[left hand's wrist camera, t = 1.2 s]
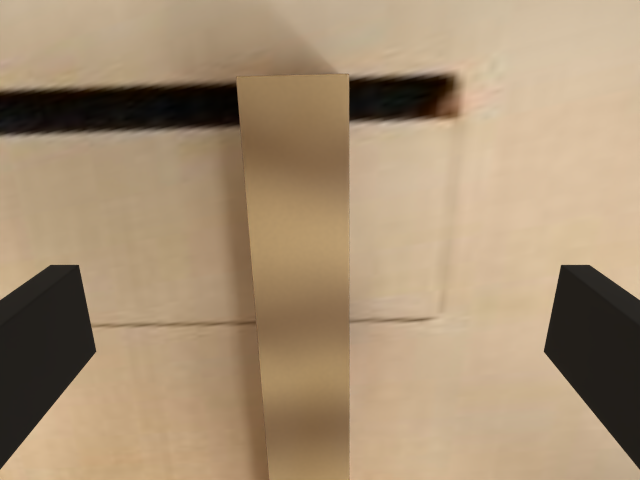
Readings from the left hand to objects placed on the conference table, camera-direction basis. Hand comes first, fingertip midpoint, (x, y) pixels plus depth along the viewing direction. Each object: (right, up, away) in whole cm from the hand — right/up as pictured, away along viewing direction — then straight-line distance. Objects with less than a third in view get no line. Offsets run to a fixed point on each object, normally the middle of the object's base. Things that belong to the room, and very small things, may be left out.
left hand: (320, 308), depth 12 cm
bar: (0, -14, +22) cm, 26 cm away
